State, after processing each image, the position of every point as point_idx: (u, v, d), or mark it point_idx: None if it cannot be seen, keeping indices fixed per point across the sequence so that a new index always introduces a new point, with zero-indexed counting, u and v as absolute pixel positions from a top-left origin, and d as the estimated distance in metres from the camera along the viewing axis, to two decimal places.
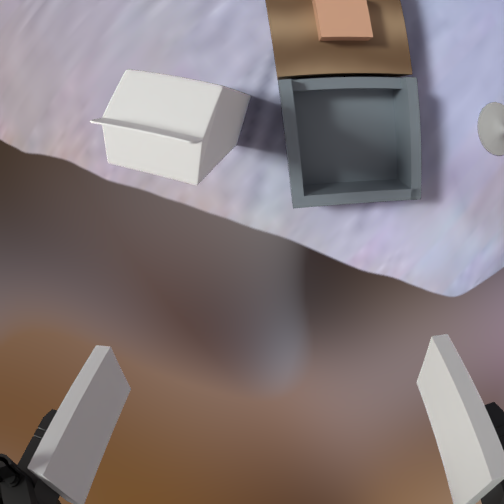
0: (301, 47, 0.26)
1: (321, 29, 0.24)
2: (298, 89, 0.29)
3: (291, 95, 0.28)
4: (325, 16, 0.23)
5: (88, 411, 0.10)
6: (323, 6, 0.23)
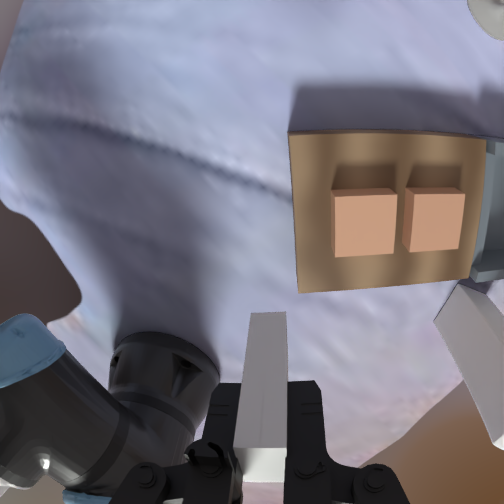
0: (450, 256, 0.27)
1: (451, 248, 0.24)
2: (480, 258, 0.27)
3: (489, 272, 0.26)
4: (439, 243, 0.24)
5: None
6: (428, 243, 0.24)
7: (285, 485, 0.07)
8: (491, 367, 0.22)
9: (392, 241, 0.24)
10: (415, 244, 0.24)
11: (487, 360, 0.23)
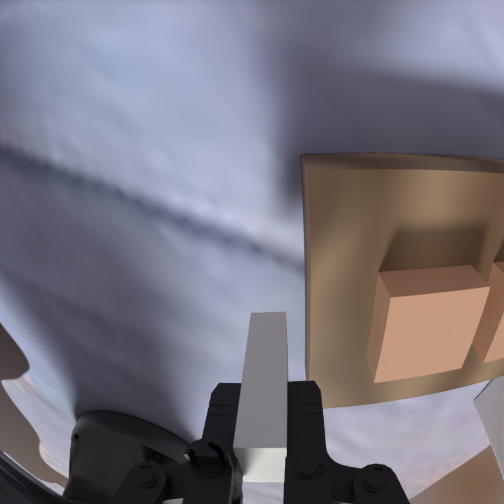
0: None
1: None
2: None
3: None
4: None
5: None
6: None
7: (285, 485, 0.07)
8: None
9: (464, 353, 0.13)
10: (493, 352, 0.13)
11: None
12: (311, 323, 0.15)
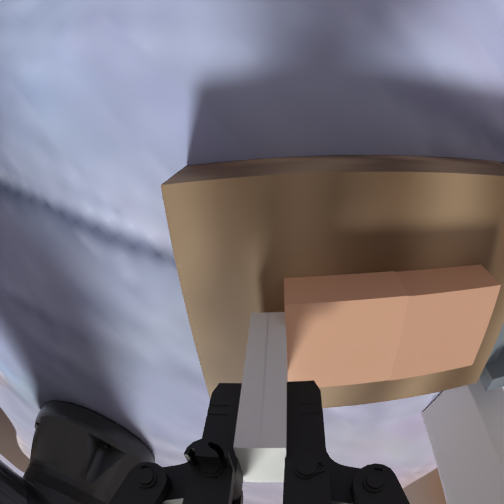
0: None
1: (461, 366, 0.13)
2: (498, 355, 0.16)
3: None
4: (442, 362, 0.13)
5: None
6: (423, 366, 0.13)
7: (285, 485, 0.07)
8: None
9: (390, 365, 0.13)
10: (401, 369, 0.13)
11: (481, 492, 0.13)
12: (191, 326, 0.16)
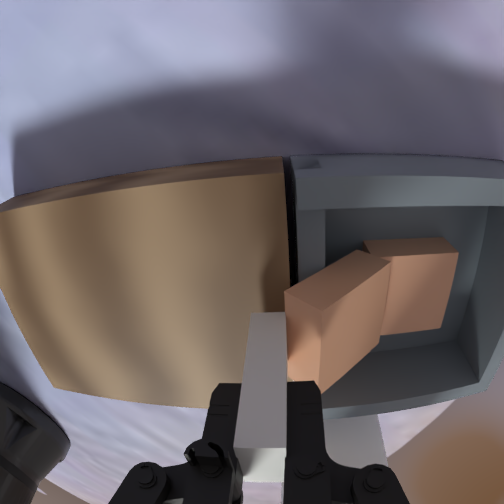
0: (241, 382, 0.17)
1: None
2: None
3: (329, 409, 0.16)
4: None
5: None
6: None
7: (285, 485, 0.07)
8: None
9: (379, 329, 0.16)
10: None
11: None
12: (14, 316, 0.17)
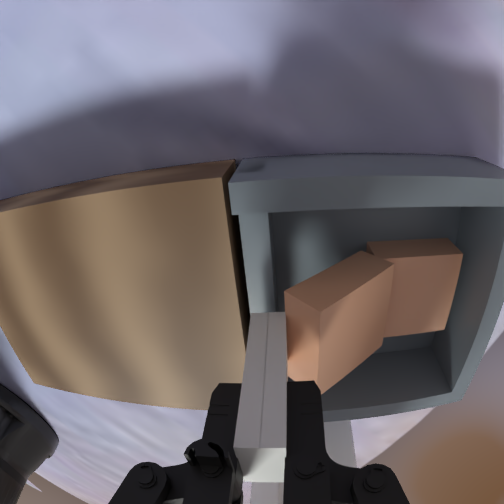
0: (200, 383, 0.17)
1: None
2: None
3: None
4: None
5: None
6: None
7: (285, 485, 0.07)
8: None
9: (382, 331, 0.15)
10: None
11: None
12: None
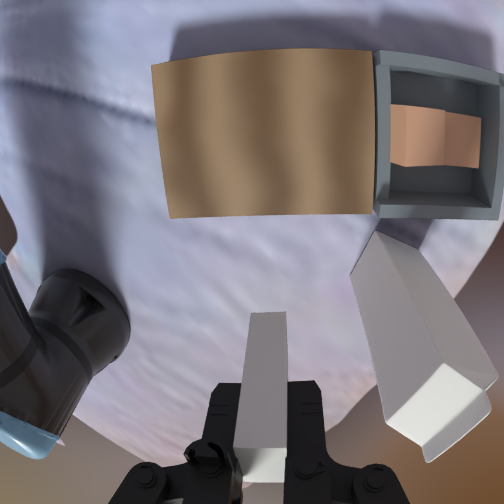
0: (340, 183, 0.26)
1: None
2: (387, 192, 0.26)
3: (398, 206, 0.25)
4: None
5: None
6: None
7: (285, 485, 0.07)
8: (394, 320, 0.22)
9: (443, 153, 0.24)
10: None
11: (391, 311, 0.23)
12: (159, 143, 0.26)
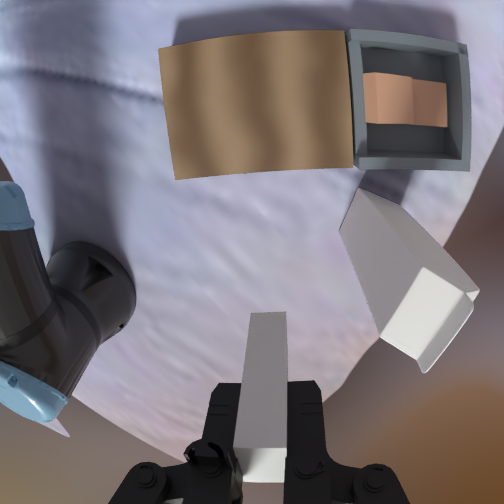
0: (323, 141, 0.29)
1: None
2: (365, 148, 0.30)
3: (375, 159, 0.29)
4: None
5: None
6: None
7: (285, 485, 0.07)
8: (378, 251, 0.25)
9: (412, 113, 0.27)
10: None
11: (375, 245, 0.26)
12: (166, 114, 0.29)
